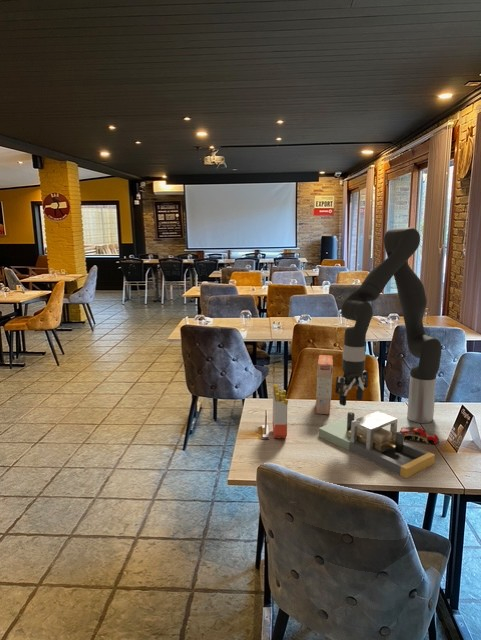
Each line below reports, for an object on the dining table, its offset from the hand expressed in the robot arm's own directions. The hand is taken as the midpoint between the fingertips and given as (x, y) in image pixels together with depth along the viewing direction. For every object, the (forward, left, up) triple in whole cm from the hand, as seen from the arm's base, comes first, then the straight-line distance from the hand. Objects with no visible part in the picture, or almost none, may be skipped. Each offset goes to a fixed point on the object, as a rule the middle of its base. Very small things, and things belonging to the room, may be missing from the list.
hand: (351, 402), depth 167 cm
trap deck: (0, +10, -14) cm, 17 cm away
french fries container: (+18, -17, -14) cm, 28 cm away
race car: (-19, +15, -14) cm, 28 cm away
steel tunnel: (0, +10, -11) cm, 15 cm away
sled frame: (0, +10, -11) cm, 15 cm away
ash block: (0, +10, -11) cm, 15 cm away
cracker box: (-13, -25, -14) cm, 31 cm away
